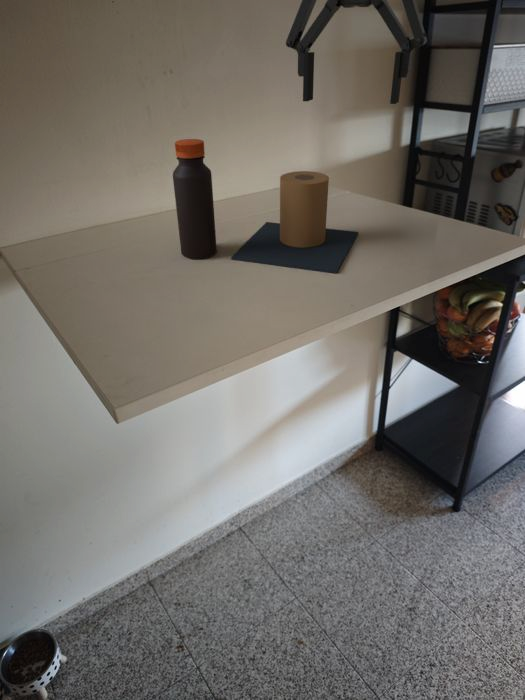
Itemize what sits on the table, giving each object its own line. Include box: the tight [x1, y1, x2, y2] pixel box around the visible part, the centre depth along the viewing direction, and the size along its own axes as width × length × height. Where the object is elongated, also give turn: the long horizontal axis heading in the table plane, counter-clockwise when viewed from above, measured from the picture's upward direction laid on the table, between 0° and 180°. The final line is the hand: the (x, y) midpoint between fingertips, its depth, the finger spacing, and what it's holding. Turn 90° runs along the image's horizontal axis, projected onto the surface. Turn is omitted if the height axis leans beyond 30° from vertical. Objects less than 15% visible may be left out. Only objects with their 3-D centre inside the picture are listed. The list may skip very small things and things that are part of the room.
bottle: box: [172, 138, 218, 260], centre depth 90 cm, size 7×7×20 cm
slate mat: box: [230, 221, 359, 275], centre depth 97 cm, size 20×20×1 cm
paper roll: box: [279, 170, 330, 248], centre depth 96 cm, size 12×9×9 cm
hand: (349, 101), depth 77 cm, fingers open, 13 cm apart
